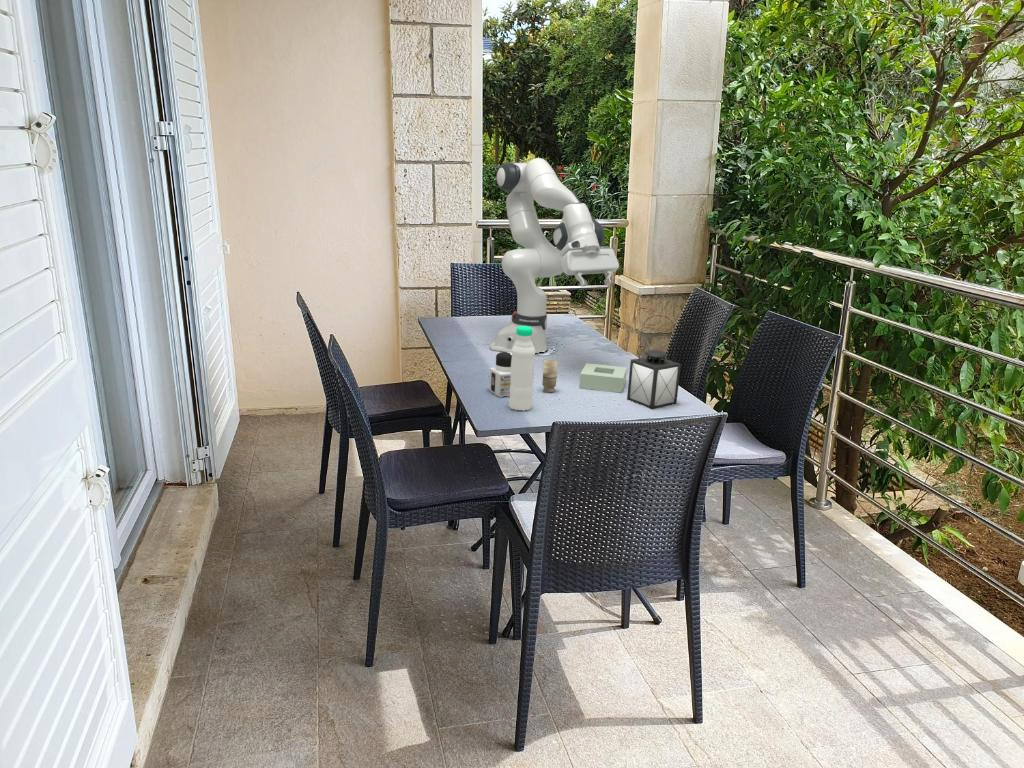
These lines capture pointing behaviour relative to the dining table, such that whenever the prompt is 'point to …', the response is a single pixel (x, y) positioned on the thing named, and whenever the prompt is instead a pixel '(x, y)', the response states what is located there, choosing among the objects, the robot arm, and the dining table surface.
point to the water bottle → (522, 370)
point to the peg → (549, 375)
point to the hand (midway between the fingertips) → (596, 285)
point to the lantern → (653, 379)
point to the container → (501, 375)
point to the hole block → (603, 377)
